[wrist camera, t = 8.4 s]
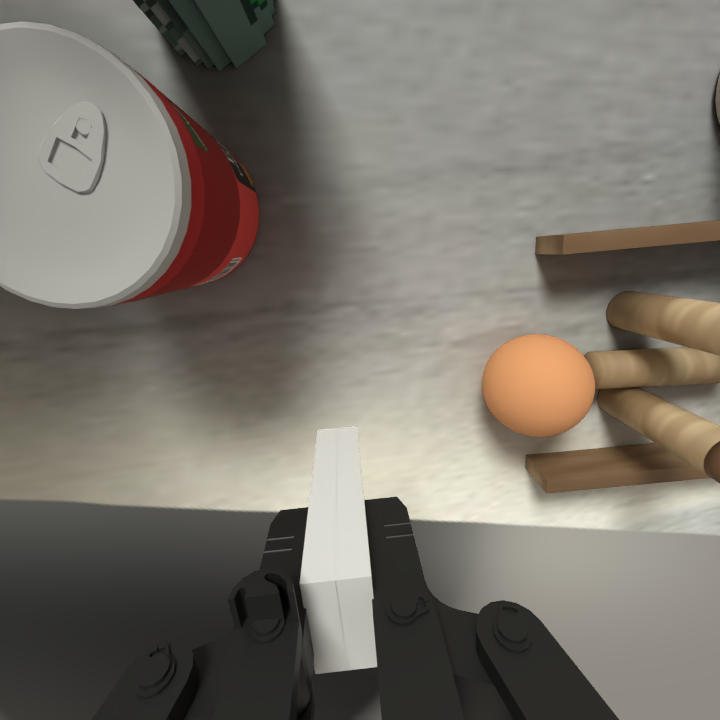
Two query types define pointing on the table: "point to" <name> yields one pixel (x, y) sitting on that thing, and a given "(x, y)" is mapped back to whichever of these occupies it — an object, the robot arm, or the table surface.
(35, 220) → the canned food
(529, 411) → the ball
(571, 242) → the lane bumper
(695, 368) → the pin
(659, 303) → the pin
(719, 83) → the coffee cup
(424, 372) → the table surface
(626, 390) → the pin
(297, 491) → the table surface
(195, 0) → the can
